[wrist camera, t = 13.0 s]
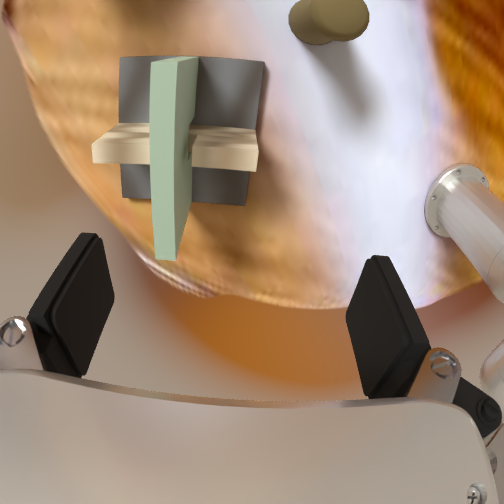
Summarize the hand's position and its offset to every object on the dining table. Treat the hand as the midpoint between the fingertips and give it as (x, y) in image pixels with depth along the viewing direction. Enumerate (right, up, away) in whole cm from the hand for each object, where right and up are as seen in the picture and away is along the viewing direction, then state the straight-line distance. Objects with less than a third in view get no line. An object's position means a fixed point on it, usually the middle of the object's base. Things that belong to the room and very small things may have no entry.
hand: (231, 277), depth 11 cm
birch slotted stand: (-7, +15, +24) cm, 30 cm away
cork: (+8, +26, +17) cm, 32 cm away
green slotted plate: (-7, +15, +23) cm, 28 cm away
